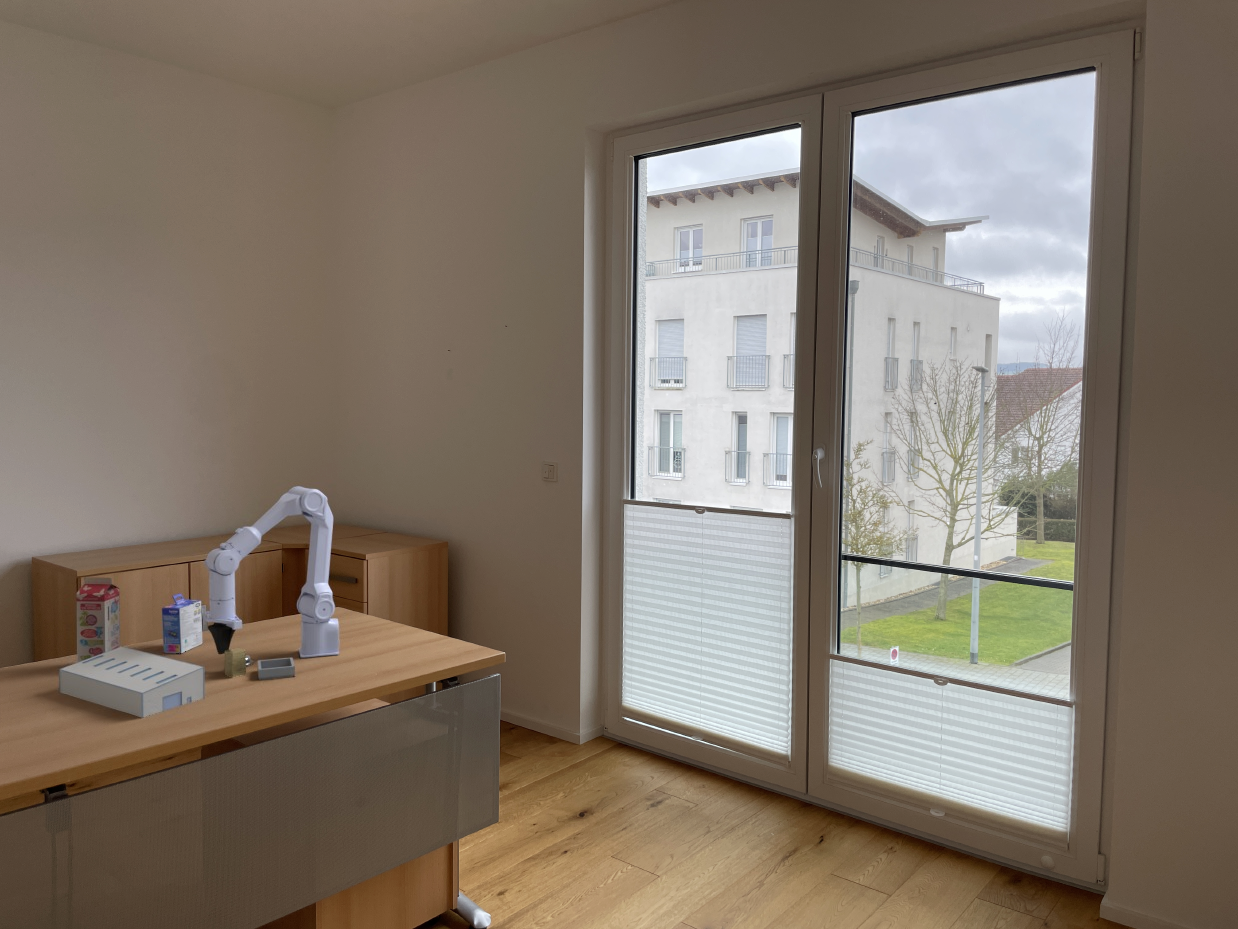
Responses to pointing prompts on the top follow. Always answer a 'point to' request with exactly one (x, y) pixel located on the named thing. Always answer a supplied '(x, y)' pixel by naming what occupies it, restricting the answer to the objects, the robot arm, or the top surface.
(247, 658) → the crank
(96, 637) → the juice carton
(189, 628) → the ink cartridge box
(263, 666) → the tray
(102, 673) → the warehouse
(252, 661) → the bearing
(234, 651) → the block
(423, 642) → the top surface
